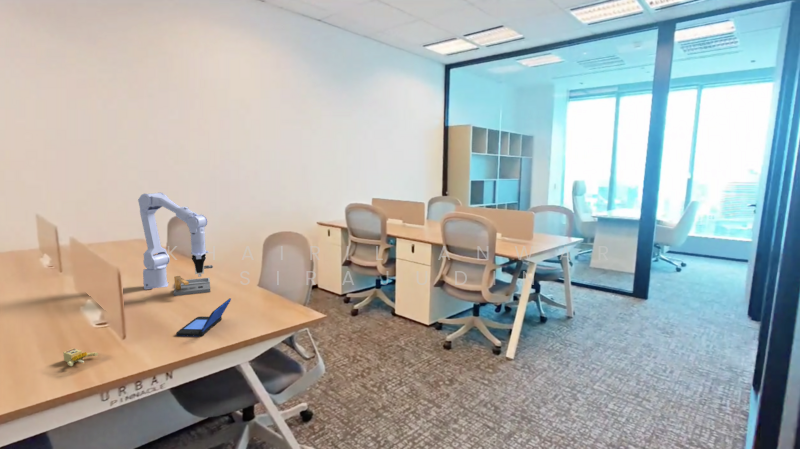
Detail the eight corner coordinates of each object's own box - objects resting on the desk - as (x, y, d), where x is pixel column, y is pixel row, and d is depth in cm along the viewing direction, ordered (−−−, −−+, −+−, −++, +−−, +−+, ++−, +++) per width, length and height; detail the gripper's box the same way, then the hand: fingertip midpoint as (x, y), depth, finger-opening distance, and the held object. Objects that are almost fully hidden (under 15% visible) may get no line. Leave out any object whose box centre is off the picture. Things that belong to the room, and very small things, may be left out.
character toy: (71, 359, 114) (53, 354, 117) (72, 370, 115) (54, 365, 118) (100, 348, 122) (83, 343, 125) (101, 358, 122) (84, 353, 125)
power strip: (173, 296, 179) (173, 292, 179) (175, 291, 187) (174, 286, 187) (210, 293, 185) (210, 288, 185) (210, 287, 193) (209, 283, 193)
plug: (195, 277, 184) (194, 264, 183) (195, 275, 187) (194, 262, 186) (213, 276, 187) (212, 263, 186) (213, 274, 190) (212, 261, 190)
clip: (174, 288, 183) (173, 276, 182) (180, 287, 185) (179, 275, 184) (184, 295, 174) (183, 282, 173) (190, 294, 176) (189, 281, 175)
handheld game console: (197, 319, 154) (196, 296, 153) (233, 320, 154) (232, 297, 153) (174, 337, 139) (173, 310, 137) (213, 338, 139) (212, 311, 137)
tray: (176, 289, 190) (176, 285, 190) (177, 284, 197) (177, 280, 197) (209, 285, 196) (209, 281, 196) (209, 281, 203) (209, 277, 203)
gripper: (208, 244, 179) (209, 274, 181) (207, 238, 192) (209, 266, 194) (190, 245, 176) (191, 276, 178) (190, 239, 189) (192, 268, 191)
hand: (199, 271), depth 186 cm, fingers closed on plug, 4 cm apart
